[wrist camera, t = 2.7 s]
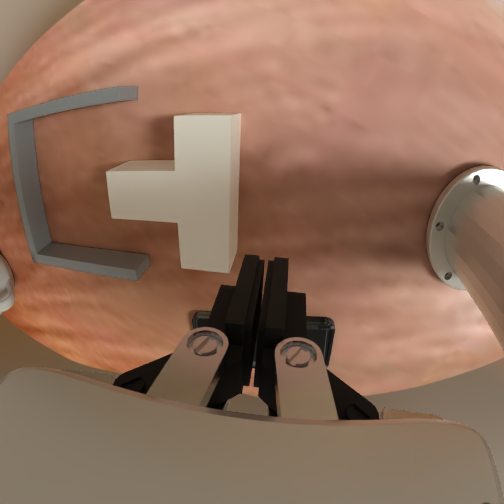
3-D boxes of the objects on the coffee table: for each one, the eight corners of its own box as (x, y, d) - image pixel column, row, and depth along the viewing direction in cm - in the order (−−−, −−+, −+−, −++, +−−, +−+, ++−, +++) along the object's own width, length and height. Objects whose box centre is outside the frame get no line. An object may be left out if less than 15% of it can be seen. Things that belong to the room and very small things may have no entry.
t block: (241, 113, 22) (231, 115, 18) (237, 249, 27) (229, 273, 24) (127, 117, 22) (102, 121, 19) (137, 240, 28) (118, 260, 25)
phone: (327, 371, 32) (201, 363, 34) (326, 364, 33) (203, 356, 35) (336, 321, 29) (190, 314, 31) (335, 314, 30) (193, 307, 32)
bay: (137, 86, 21) (119, 86, 19) (150, 265, 29) (137, 280, 27) (26, 110, 23) (7, 114, 20) (48, 250, 31) (33, 262, 28)
